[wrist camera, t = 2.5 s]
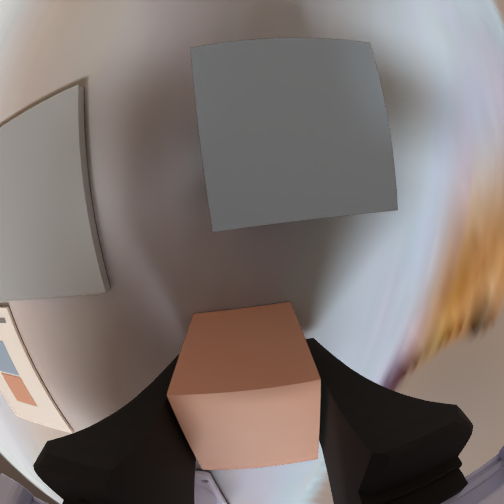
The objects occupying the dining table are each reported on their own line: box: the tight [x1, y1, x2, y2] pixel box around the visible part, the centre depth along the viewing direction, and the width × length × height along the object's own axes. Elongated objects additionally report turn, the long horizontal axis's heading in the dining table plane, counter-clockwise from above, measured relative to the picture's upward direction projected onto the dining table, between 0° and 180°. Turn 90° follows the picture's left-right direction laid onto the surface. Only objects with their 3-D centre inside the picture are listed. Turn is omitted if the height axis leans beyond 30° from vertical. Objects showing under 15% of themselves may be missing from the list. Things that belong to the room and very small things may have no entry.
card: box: [0, 306, 74, 433], centre depth 12 cm, size 10×7×1 cm
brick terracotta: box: [167, 302, 321, 470], centre depth 9 cm, size 4×4×5 cm
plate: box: [0, 84, 111, 302], centre depth 9 cm, size 9×9×1 cm
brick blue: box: [190, 38, 398, 232], centre depth 7 cm, size 4×4×5 cm
